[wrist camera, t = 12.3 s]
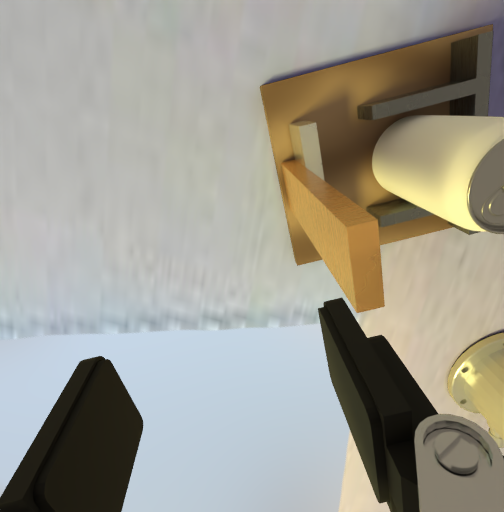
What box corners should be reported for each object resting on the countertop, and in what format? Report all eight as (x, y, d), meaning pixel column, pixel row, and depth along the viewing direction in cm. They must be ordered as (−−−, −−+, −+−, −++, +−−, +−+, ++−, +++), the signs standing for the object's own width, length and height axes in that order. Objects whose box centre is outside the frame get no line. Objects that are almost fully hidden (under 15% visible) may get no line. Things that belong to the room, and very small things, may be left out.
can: (357, 180, 29) (437, 222, 18) (391, 103, 26) (509, 98, 15) (419, 201, 30) (530, 254, 19) (457, 130, 27) (610, 143, 17)
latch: (320, 229, 30) (414, 349, 15) (295, 236, 30) (362, 361, 15) (302, 120, 26) (406, 134, 11) (273, 128, 26) (337, 152, 11)
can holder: (458, 221, 31) (480, 231, 28) (369, 243, 31) (383, 255, 28) (463, 39, 25) (493, 30, 22) (353, 68, 25) (368, 63, 22)
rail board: (472, 216, 32) (480, 220, 31) (295, 260, 33) (297, 265, 32) (481, 27, 26) (492, 24, 24) (259, 86, 26) (261, 85, 25)
